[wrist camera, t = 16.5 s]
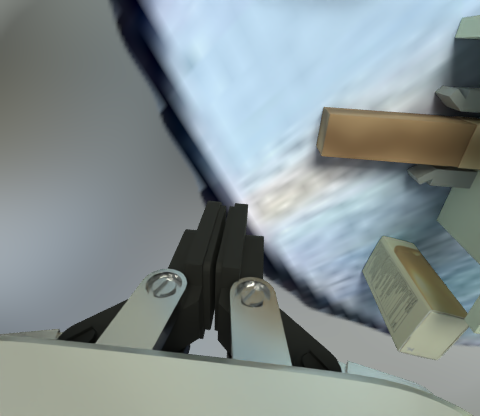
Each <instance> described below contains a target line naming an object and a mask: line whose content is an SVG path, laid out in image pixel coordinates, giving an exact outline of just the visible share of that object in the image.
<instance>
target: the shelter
mask: <svg viewBox="0 0 480 416" xmlns="http://www.w3.org/2000/svg"><path fill="white" fill-rule="evenodd" d="M455 38H464V39H480V15H477V16H471V17H464V18H462V20H461V23H460V25H459V28H458V31H457V34H456V36H455ZM435 93H436V94H437V95H438V97H439V98H440V99H441V101H442V102H443V103H444V104H445V106H446V107H449V108H452V109H455V110H458V111H463V112H477V113H480V88H468V87H453V88H451V87H447V86H442V87H441V88H440V89H438V90H437V91H436V92H435ZM407 171H408V173H409V175H410V176H411V177H412V178H413V179H414V180H415V181H416V182H417V183H418V184H419V185H421V184H423V183H425V182H426V183H428V184H429V185H430V186H443V187H452V188H451V190H450V193H449V195H448V197H447V199H446V201H445V203H444V206H443V208H442V210H441V212H440V214H439V216H438V218H437V221H438V222H439V223H440V224H441V225H442V226H443V227H444V228H445V229H446V230H447V232H448V233H449V234H450V235H451V236H452V237H453V238H454V239H455V240H456V241H457V242H458V243H459V244H460V245H461V246H462V247H463V248H464V249H465V250H466V251H467V252H468V253H469V254H470V255H471V256H472V257H473V258H474V259H475V260H476V261H477V262H478V263H479V264H480V170H479V169H466V168H458V167H452V166H440V165H427V164H417V165H415V166H413V167H411V168H409V169H407ZM464 320H465V321H466V323H467V324H468V325H469V327H470V328H471V330H472V331H473V332H474V333H477V334H480V296H479V297H478V299H477V300H476V302H475V303H474V305H473V306H472V308H471V309H470V311H469V312H468V314H467V316H466V317H465V319H464Z"/></svg>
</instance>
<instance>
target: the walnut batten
mask: <svg viewBox="0 0 480 416" xmlns="http://www.w3.org/2000/svg"><path fill="white" fill-rule="evenodd" d="M316 146H317V148H318V150H319V152H320V154H321V156H327V157H340V158H352V159H365V160H377V161H390V162H402V163H415V164H427V165H440V166H452V167H458V168H466V169H479V170H480V119H479V118H475V117H462V116H455V117H454V116H440V115H427V114H413V113H399V112H385V111H371V110H358V109H344V108H330V107H324V108H323V113H322V118H321V123H320V129H319V134H318V139H317V144H316Z"/></svg>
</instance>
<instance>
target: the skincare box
mask: <svg viewBox="0 0 480 416" xmlns="http://www.w3.org/2000/svg"><path fill="white" fill-rule="evenodd" d="M362 272H363V274H364V276H365V279H366V281H367V283H368V285H369V287H370V290H371V292H372V294H373V296H374V299H375V301H376V303H377V305H378V308H379V310H380V312H381V314H382V317H383V319H384V321H385V323H386V326H387V328H388V330H389V332H390V334H391V337H392V339H393V341H394V343H395V346H396V348H397V350H398V351H399V352H401V353H406V354H410V355H414V356H418V357H423V358H427V359H432V360H439V359H440V358H441V357H442V356H443V354H445V353H446V352H447V351H448V350H449V348H450V347H451V346H452V345H453V344H454V343H455V342H456V341H457V340H458V339H459V338H460V336H461V335H462V334H463V333H464V332H465V331H466V330H467V329H468V327H469V325H468V324H467V323H466V321H465V320H464V319H465V317H466V316H467V314H468V313H467V312H466V311H465V309H464V308H463V307H462V305H461V304H460V303H459V302H458V300H457V299H456V298H455V297H454V295H453V294H452V293H451V291H450V290H449V289H448V288H447V286H446V285H445V284H444V282H443V281H442V280H441V278H440V277H439V276H438V275H437V273H436V272H435V271H434V269H433V268H432V267H431V266H430V264H429V263H428V262H427V261H426V259H425V258H424V257H423V255H422V254H421V253H420V251H419V250H418V249H417V248H416V246H415V245H414V244H413V243H409V242H406V241H402V240H399V239H395V238H391V237H386V236H382V237H381V239H380V240H379V242H378V244H377V245H376V247H375V249H374V251H373V252H372V254H371V256H370V258H369V259H368V261H367V263H366V265H365V267H364V269H363V271H362Z"/></svg>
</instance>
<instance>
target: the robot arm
mask: <svg viewBox="0 0 480 416" xmlns="http://www.w3.org/2000/svg"><path fill="white" fill-rule="evenodd" d="M247 213H248V204H237V203H235V207H232V206H230V208H229V212H228V216H227V220H226V206H222V203H221V202H214V201H208V202H207V205H206V208H205V210H204V213H203V215H202V218H201V221H200V223H199V226H198V229H197V230H188V229H186V230H185V232H184V234H183V236H182V238H181V240H180V243H179V245H178V247H177V249H176V252H175V254H174V256H173V258H172V261H171V263H170V265H169V267H168V269H161V270H157V271H154V272H152V273H151V274H149V275H147V277H145V279H143V281H142V282H141V283H140V285H139V286H138V287H137V289H136V290H135V291H134V293H133V294H132V295H131V297H130V298H129V299H127V300H125V301H123V302H121V303H119V304H117V305H115V306H113V307H111V308H108V309H107V310H104V311H102V312H100V313H98V314H96V315H94V316H92V317H90V318H87V319H85V320H83V321H81V322H79V323H77V324H75V325H73V326H71V327H70V328H68V329H67V330H66V331H64V332H60V330H59V329H52V330H41V331H31V332H20V333H10V334H0V416H473V415H472V414H470V413H469V412H467V411H465V410H463V409H462V408H460V407H458V406H456V405H454V404H452V403H450V402H448V401H446V400H444V399H441V398H439V397H437V396H435V395H433V394H432V393H431V392H430V391H429V390H427V389H426V388H425V387H423V386H421V385H419V384H417V383H414V382H411V381H408V380H405V379H402V378H399V377H396V376H393V375H390V374H387V373H384V372H381V371H377V370H374V369H371V368H368V367H365V366H362V365H359V364H356V363H353V362H350V361H348V362H347V364H344V363H340V362H338V361H337V359H336V358H335V357H334V356H333V355H332V354H331V352H329V351H328V350H327V349H326V348H325V347H324V346H322V345H321V344H320V343H319V342H318V341H317V340H315V339H314V338H313V337H312V336H311V335H310V334H309V333H307V332H306V331H305V330H304V329H303V328H302V327H301V326H299V325H298V324H297V323H296V322H295V321H294V320H292V319H291V318H290V317H289V316H288V315H287V314H286V313H284V312H283V311H282V310H281V309H279V306H278V302H277V298H276V293H275V291H274V288H273V287H272V286H271V285H270V284H269V283H268V282H266V281H265V280H263V251H264V236H253V235H246V226H247ZM214 310H215V330H216V331H218V341H219V342H220V343H221V344H222V346H223V347H224V348H225V349H226V350H227V358H219V357H210V356H201V355H192V354H188V353H189V350H190V344H191V343H192V342H194V341H196V340H197V339H199V338H200V339H203V337H204V332H205V329H207V330H210V329H211V325H212V320H213V315H214Z"/></svg>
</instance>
